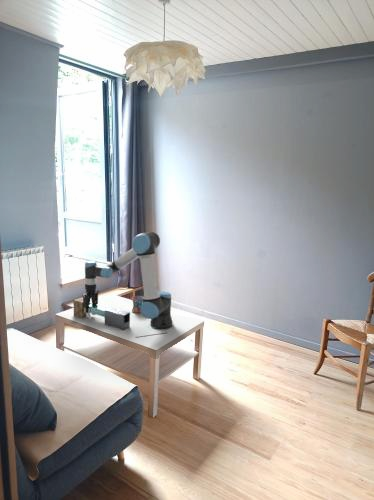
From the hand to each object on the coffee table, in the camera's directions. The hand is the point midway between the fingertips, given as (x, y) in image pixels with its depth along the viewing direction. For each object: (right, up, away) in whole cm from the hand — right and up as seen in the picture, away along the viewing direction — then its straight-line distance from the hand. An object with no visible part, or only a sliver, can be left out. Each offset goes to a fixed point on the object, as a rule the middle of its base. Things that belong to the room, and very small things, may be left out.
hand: (90, 315), depth 259 cm
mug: (+31, 0, +18) cm, 36 cm away
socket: (-7, 0, +4) cm, 8 cm away
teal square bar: (+5, +2, -3) cm, 6 cm away
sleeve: (+20, -5, -11) cm, 24 cm away
